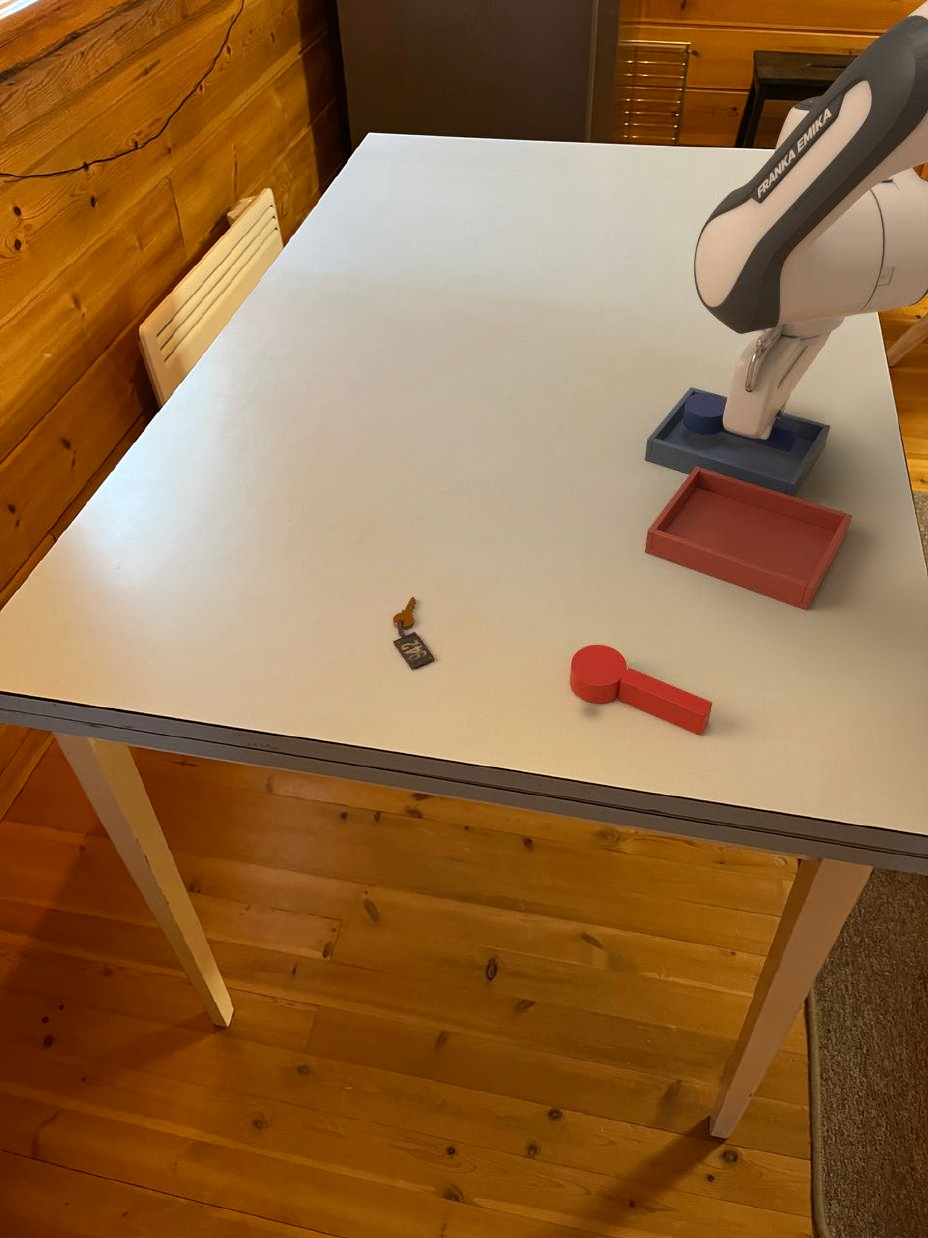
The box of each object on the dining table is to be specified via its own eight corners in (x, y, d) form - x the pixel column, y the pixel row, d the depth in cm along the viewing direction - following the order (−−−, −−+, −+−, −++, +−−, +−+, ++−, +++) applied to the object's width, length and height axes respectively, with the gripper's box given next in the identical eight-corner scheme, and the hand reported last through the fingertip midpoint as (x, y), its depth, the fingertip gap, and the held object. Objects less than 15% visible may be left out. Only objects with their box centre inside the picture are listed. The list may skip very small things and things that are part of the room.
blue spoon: (799, 437, 93) (804, 417, 91) (784, 460, 91) (789, 439, 89) (693, 406, 98) (696, 386, 96) (676, 427, 95) (678, 407, 94)
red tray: (845, 536, 86) (852, 514, 84) (806, 610, 80) (813, 588, 78) (692, 487, 92) (695, 465, 91) (644, 551, 86) (647, 530, 84)
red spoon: (715, 709, 73) (720, 689, 71) (693, 748, 70) (697, 729, 69) (585, 655, 77) (587, 635, 76) (560, 690, 75) (561, 670, 73)
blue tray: (825, 446, 96) (831, 425, 94) (788, 505, 90) (794, 484, 88) (687, 407, 102) (690, 386, 100) (644, 460, 96) (646, 439, 94)
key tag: (436, 664, 77) (435, 659, 77) (401, 671, 77) (400, 667, 76) (415, 597, 83) (414, 593, 82) (382, 604, 82) (381, 600, 82)
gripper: (793, 357, 75) (760, 493, 85) (865, 257, 87) (829, 386, 97) (718, 338, 77) (695, 472, 87) (799, 243, 89) (770, 371, 99)
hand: (766, 426), depth 92 cm, fingers closed on blue spoon, 1 cm apart
